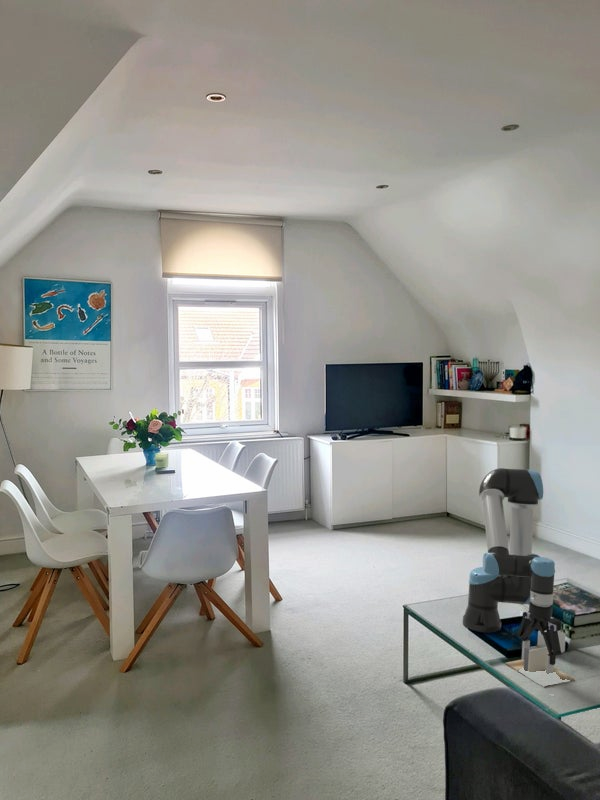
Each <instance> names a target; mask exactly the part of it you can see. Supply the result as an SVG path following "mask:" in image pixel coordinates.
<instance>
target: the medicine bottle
mask: <svg viewBox="0 0 600 800" xmlns="http://www.w3.org/2000/svg"><path fill="white" fill-rule="evenodd" d="M550 621H551V623H552V624H554V625H555V624H557V625H558V637H559V643H560V648H561V654H562V653H563V654H564V652H565V650H566V638H567V637H566V635H567V634H566V632H562V631H561V630H562V621H561V620H560V619H558V618H556V617H552V616H551V618H550ZM537 631H538V632H537V643H536V646H538V645H543V644H546V643H545V640H544V637H543V635H542V634H541V632H540V631H539V630H537ZM544 632H547V630H546V631H544ZM552 651H553V650H552Z"/></svg>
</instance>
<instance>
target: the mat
mask: <svg viewBox="0 0 600 800" xmlns="http://www.w3.org/2000/svg"><path fill="white" fill-rule="evenodd" d="M504 665H505V666H507V667H510V668H511V669H512V670H514V671H515V670H517V671H519V670H520V669H522V668H524V660H523V659H522V658H521V659H518V660H513V661H508V662H505V663H504ZM517 671H516V672H517ZM543 671H545V670H543ZM554 672H556V674H557V675H558V676H559V677H560V679H562V680H565V679H567V680H570V681H571V682H574V681H575V680H576V678H573V677H572V676H569V675H568V674H567V673H564V672H563V671H561V670H559V669H557V668H555V667H554Z"/></svg>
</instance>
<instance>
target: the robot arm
mask: <svg viewBox="0 0 600 800" xmlns="http://www.w3.org/2000/svg"><path fill="white" fill-rule="evenodd" d="M478 494H479V495H478V496H479V500H480V501H481V502H482V507H483V509H482V510H483V517H484V526H485V527H484V529H485V537H486V539H485V540H486V548H487V552H484V553H483V555H482V566H481V567H476V568H474V569H472V570H471V571H470V573H469V579H468V584H469V585H468V597H467V598H468V599H467V606H466V609H465V613H464V615H463V617H462V625H463V626H464V627H465V628H467V629H469V630H472V631H474V632H478V633H489V634H491V633H497V632H499V631H501V629H502V621H501V617H500V614H499V611H498V610H499V609H498V604H499V603H505V604H514V605H521V606H524V605H529V606H528V611H523V612H522V619H521V622H520V625H519V627H518V631H517V634H516V635H517V637H519V638H520V639H521V660H522V659H523V660H524V653H525V648H527V647H531V641H530V638H531V636H532V634H533V633H534V631H535V630H537V631H540V632H541V634H542V635H543V637H544V640H545V643H546V646H547V649H548V652H549V654H547V663H546V673H547V674H549V673H553V672H554V668H555V665H556V662H557V661H556V659H557V657H558V656H561V655H562V653H561V648H560V643H559V637H558V625H557V624H555V625H554V624H552V623H551V621H550V618H551V617H552V615H553V603H554V587H555V585H554V584H555V573H556V567H555V566H556V565H555V564H556V563H555V561H554V560H553V559H550V558H548V557H544V556H542V557H541V556H540V555H539V554H536V553H532V552H533V532H534V529H533V528H534V511H535V510H534V509H535V507H536V506H538V505H539V501H541V500H543V497H544V484H543V479H542V476H541V474H540V473H539V471H537V470H531V469H521V468H505V467H501V468H495V469H493V470H491V471H489V473H487V474H486V475H485V476H484V478H482V481H481V483H480V485H479V488H478ZM505 498H507V503H508V504H509V505H510V506H511V508H510V510H511V511H510V527H509V528H510V531H509V542H508V534H507V533H508V532H507V527H506V519H505V510H504V509H505V508H504V502H503V501H504V500H505ZM498 630H499V631H498ZM546 630H547V632H544V631H546ZM496 631H497V632H496ZM552 650H553V651H552Z"/></svg>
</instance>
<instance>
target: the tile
mask: <svg viewBox="0 0 600 800" xmlns="http://www.w3.org/2000/svg"><path fill="white" fill-rule="evenodd" d="M547 654H549V652H548V649H547V646H546V644H543V645H538V646H537V645H534V646H530V647H527V648H525V653H524V670H525V671H529V672H536V671H543V670H546V663H547Z"/></svg>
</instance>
